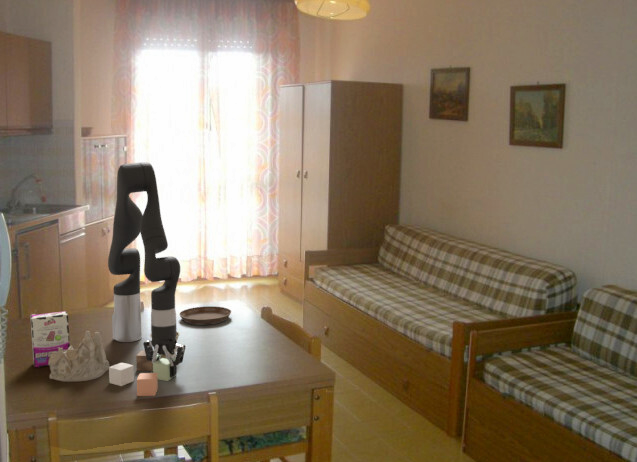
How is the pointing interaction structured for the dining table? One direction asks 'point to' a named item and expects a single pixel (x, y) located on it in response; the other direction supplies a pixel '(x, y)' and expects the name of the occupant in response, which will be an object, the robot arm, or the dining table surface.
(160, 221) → the robot arm
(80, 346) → the ceramic cottage
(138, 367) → the walnut cube
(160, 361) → the sage cube
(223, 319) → the plant saucer
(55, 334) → the candy bar box
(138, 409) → the dining table surface
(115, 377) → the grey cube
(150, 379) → the terracotta cube
